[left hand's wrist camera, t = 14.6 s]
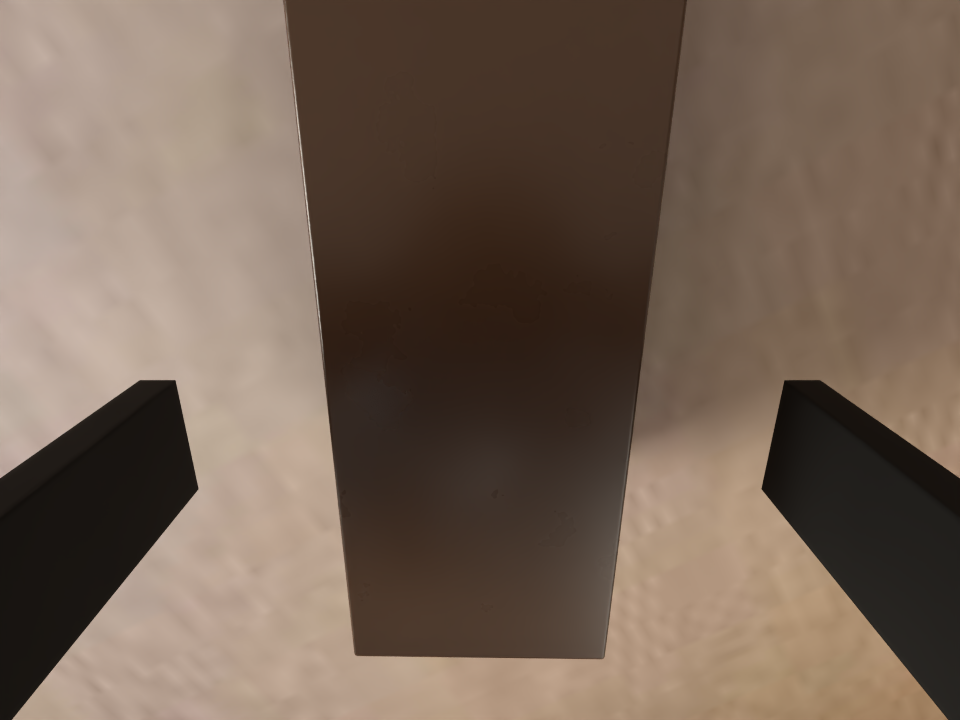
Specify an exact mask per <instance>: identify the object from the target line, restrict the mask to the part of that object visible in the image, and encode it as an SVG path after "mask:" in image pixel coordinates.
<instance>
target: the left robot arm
mask: <svg viewBox="0 0 960 720" xmlns="http://www.w3.org/2000/svg"><path fill="white" fill-rule="evenodd" d="M197 490H198V484H197V480H196V475H195V470H194V466H193V461H192V456H191V451H190V447H189V442H188V437H187V433H186V428H185V423H184V418H183V414H182V409H181V404H180V400H179V395H178V390H177V385H176V381H175V380H140V381H138V382H137V383H135V384H134V385H133V386H131V387H130V388H128V389H127V390H125V391H124V392H123V393H121V394H120V395H118V396H117V397H115V398H114V399H113V400H111V401H110V402H108V403H107V404H105V405H104V406H103V407H101V408H100V409H98V410H97V411H95V412H94V413H93V414H91V415H90V416H88V417H87V418H86V419H84V420H83V421H81V422H80V423H78V424H77V425H76V426H74V427H73V428H71V429H70V430H68V431H67V432H66V433H64V434H63V435H61V436H60V437H58V438H57V439H56V440H54V441H53V442H51V443H50V444H49V445H47V446H46V447H44V448H43V449H41V450H40V451H39V452H37V453H36V454H34V455H33V456H31V457H30V458H29V459H27V460H26V461H24V462H23V463H21V464H20V465H19V466H17V467H16V468H14V469H13V470H11V471H10V472H9V473H7V474H6V475H4V476H3V477H2V478H0V720H12V719H13V718H14V716H15V715H16V714H17V713H18V711H19V710H20V709H21V708H22V706H23V705H24V704H25V703H26V701H27V700H28V699H29V698H30V697H31V695H32V694H33V693H34V692H35V690H36V689H37V688H38V687H39V685H40V684H41V683H42V682H43V680H44V679H45V678H46V677H47V676H48V674H49V673H50V672H51V671H52V669H53V668H54V667H55V666H56V664H57V663H58V662H59V661H60V659H61V658H62V657H63V656H64V655H65V653H66V652H67V651H68V650H69V648H70V647H71V646H72V645H73V643H74V642H75V641H76V640H77V638H78V637H79V636H80V635H81V634H82V632H83V631H84V630H85V629H86V627H87V626H88V625H89V624H90V622H91V621H92V620H93V619H94V617H95V616H96V615H97V614H98V613H99V611H100V610H101V609H102V608H103V606H104V605H105V604H106V603H107V601H108V600H109V599H110V598H111V597H112V595H113V594H114V593H115V592H116V590H117V589H118V588H119V587H120V585H121V584H122V583H123V582H124V580H125V579H126V578H127V577H128V576H129V574H130V573H131V572H132V571H133V569H134V568H135V567H136V566H137V564H138V563H139V562H140V561H141V559H142V558H143V557H144V556H145V555H146V553H147V552H148V551H149V550H150V548H151V547H152V546H153V545H154V543H155V542H156V541H157V540H158V538H159V537H160V536H161V535H162V534H163V532H164V531H165V530H166V529H167V527H168V526H169V525H170V524H171V522H172V521H173V520H174V519H175V517H176V516H177V515H178V514H179V513H180V511H181V510H182V509H183V508H184V506H185V505H186V504H187V503H188V501H189V500H190V499H191V498H192V496H193V495H194V494H195V493H196V492H197ZM762 490H763V492H764V493H765V494H766V495H767V496H768V498H769V499H770V500H771V501H772V503H773V504H774V505H775V506H776V508H777V509H778V510H779V511H780V513H781V514H782V515H783V516H784V517H785V519H786V520H787V521H788V522H789V524H790V525H791V526H792V527H793V529H794V530H795V531H796V532H797V534H798V535H799V536H800V537H801V538H802V540H803V541H804V542H805V543H806V545H807V546H808V547H809V548H810V550H811V551H812V552H813V553H814V555H815V556H816V557H817V558H818V559H819V561H820V562H821V563H822V564H823V566H824V567H825V568H826V569H827V571H828V572H829V573H830V574H831V576H832V577H833V578H834V579H835V580H836V582H837V583H838V584H839V585H840V587H841V588H842V589H843V590H844V592H845V593H846V594H847V595H848V597H849V598H850V599H851V600H852V601H853V603H854V604H855V605H856V606H857V608H858V609H859V610H860V611H861V613H862V614H863V615H864V616H865V617H866V619H867V620H868V621H869V622H870V624H871V625H872V626H873V627H874V629H875V630H876V631H877V632H878V634H879V635H880V636H881V637H882V638H883V640H884V641H885V642H886V643H887V645H888V646H889V647H890V648H891V650H892V651H893V652H894V653H895V655H896V656H897V657H898V658H899V659H900V661H901V662H902V663H903V664H904V666H905V667H906V668H907V669H908V671H909V672H910V673H911V674H912V676H913V677H914V678H915V679H916V680H917V682H918V683H919V684H920V685H921V687H922V688H923V689H924V690H925V692H926V693H927V694H928V695H929V697H930V698H931V699H932V700H933V701H934V703H935V704H936V705H937V706H938V708H939V709H940V710H941V711H942V713H943V714H944V715H945V716H946V718H947V719H948V720H960V478H958V477H957V476H956V475H954V474H953V473H951V472H950V471H949V470H947V469H946V468H944V467H943V466H941V465H940V464H939V463H937V462H936V461H934V460H933V459H931V458H930V457H929V456H927V455H926V454H924V453H923V452H921V451H920V450H919V449H917V448H916V447H914V446H913V445H911V444H910V443H909V442H907V441H906V440H904V439H903V438H902V437H900V436H899V435H897V434H896V433H894V432H893V431H892V430H890V429H889V428H887V427H886V426H884V425H883V424H882V423H880V422H879V421H877V420H876V419H874V418H873V417H872V416H870V415H869V414H867V413H866V412H865V411H863V410H862V409H860V408H859V407H857V406H856V405H855V404H853V403H852V402H850V401H849V400H847V399H846V398H845V397H843V396H842V395H840V394H839V393H837V392H836V391H835V390H833V389H832V388H830V387H829V386H827V385H826V384H825V383H823V382H822V381H820V380H785V381H784V385H783V390H782V395H781V400H780V404H779V409H778V414H777V418H776V423H775V428H774V433H773V437H772V442H771V447H770V451H769V456H768V461H767V466H766V470H765V475H764V480H763V484H762Z"/></svg>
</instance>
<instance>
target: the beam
mask: <svg viewBox="0 0 960 720" xmlns="http://www.w3.org/2000/svg"><path fill="white" fill-rule="evenodd" d="M283 2H284V12H285V21H286V30H287V39H288V48H289V57H290V67H291V76H292V85H293V94H294V103H295V112H296V122H297V131H298V140H299V149H300V158H301V167H302V177H303V186H304V195H305V204H306V213H307V222H308V232H309V241H310V250H311V259H312V268H313V277H314V287H315V296H316V305H317V314H318V323H319V332H320V342H321V351H322V360H323V369H324V378H325V387H326V397H327V406H328V415H329V424H330V433H331V442H332V452H333V461H334V470H335V479H336V488H337V497H338V507H339V516H340V525H341V534H342V543H343V552H344V562H345V571H346V580H347V589H348V598H349V607H350V617H351V626H352V635H353V644H354V653H355V655H356V656H402V657H479V658H555V659H603V658H604V656H605V649H606V641H607V633H608V625H609V617H610V609H611V601H612V593H613V586H614V578H615V570H616V562H617V554H618V546H619V538H620V530H621V522H622V514H623V506H624V498H625V490H626V482H627V474H628V466H629V458H630V450H631V442H632V434H633V426H634V418H635V410H636V402H637V394H638V387H639V379H640V371H641V363H642V355H643V347H644V339H645V331H646V323H647V315H648V307H649V299H650V291H651V283H652V275H653V267H654V259H655V251H656V243H657V235H658V227H659V219H660V211H661V203H662V196H663V188H664V180H665V172H666V164H667V156H668V148H669V140H670V132H671V124H672V116H673V108H674V100H675V92H676V84H677V76H678V68H679V60H680V52H681V44H682V36H683V28H684V20H685V12H686V4H687V0H283Z"/></svg>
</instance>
